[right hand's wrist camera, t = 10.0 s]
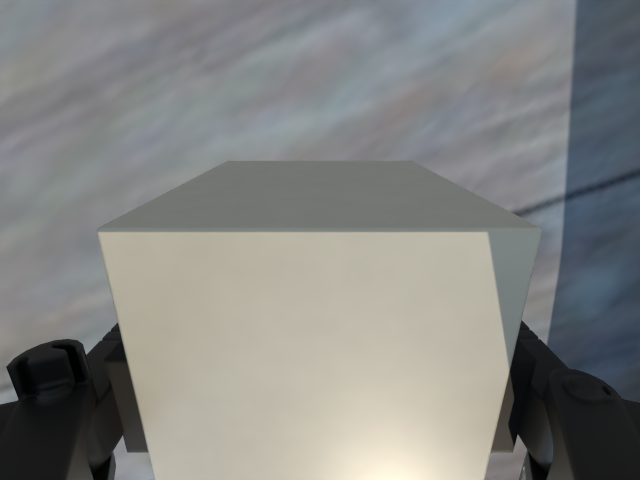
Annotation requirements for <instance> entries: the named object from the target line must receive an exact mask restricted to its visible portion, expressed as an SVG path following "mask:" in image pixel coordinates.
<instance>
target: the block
mask: <svg viewBox="0 0 640 480" xmlns="http://www.w3.org/2000/svg"><path fill="white" fill-rule="evenodd" d="M541 234H542V229H541V228H540V227H538V226H536V225H534V224H532V223H530V222H528V221H526V220H524V219H522V218H520V217H519V216H517V215H515V214H513V213H511V212H509V211H507V210H505V209H503V208H501V207H499V206H497V205H495V204H493V203H492V202H490V201H488V200H486V199H484V198H482V197H480V196H478V195H476V194H474V193H472V192H470V191H468V190H467V189H465V188H463V187H461V186H459V185H457V184H455V183H453V182H451V181H449V180H447V179H445V178H443V177H442V176H440V175H438V174H436V173H434V172H432V171H430V170H428V169H426V168H424V167H422V166H420V165H418V164H416V163H415V162H413V161H227V162H225V163H223V164H221V165H219V166H217V167H215V168H213V169H211V170H209V171H208V172H206V173H204V174H202V175H200V176H198V177H196V178H194V179H192V180H190V181H188V182H186V183H184V184H182V185H180V186H179V187H177V188H175V189H173V190H171V191H169V192H167V193H165V194H163V195H161V196H159V197H157V198H155V199H153V200H151V201H150V202H148V203H146V204H144V205H142V206H140V207H138V208H136V209H134V210H132V211H130V212H128V213H126V214H124V215H122V216H120V217H119V218H117V219H115V220H113V221H111V222H109V223H107V224H105V225H103V226H101V227H99V228H98V229H97V235H98V239H99V243H100V247H101V252H102V256H103V260H104V264H105V269H106V273H107V277H108V281H109V286H110V290H111V294H112V299H113V303H114V307H115V311H116V316H117V320H118V324H119V328H120V333H121V337H122V341H123V345H124V350H125V354H126V358H127V363H128V367H129V371H130V375H131V380H132V384H133V388H134V392H135V397H136V401H137V405H138V410H139V414H140V418H141V422H142V427H143V431H144V435H145V439H146V444H147V448H148V452H149V456H150V461H151V465H152V469H153V474H154V478H155V480H484V479H485V474H486V470H487V466H488V461H489V457H490V453H491V449H492V444H493V440H494V436H495V431H496V427H497V423H498V419H499V414H500V410H501V406H502V401H503V397H504V393H505V388H506V384H507V380H508V376H509V371H510V367H511V363H512V358H513V354H514V350H515V346H516V341H517V337H518V333H519V328H520V324H521V320H522V316H523V311H524V307H525V303H526V298H527V294H528V290H529V286H530V281H531V277H532V273H533V268H534V264H535V260H536V256H537V251H538V247H539V243H540V238H541Z"/></svg>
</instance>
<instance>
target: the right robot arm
mask: <svg viewBox="0 0 640 480" xmlns="http://www.w3.org/2000/svg"><path fill="white" fill-rule="evenodd" d="M7 370H8V373H9V375H10V378H11V380H12V383H13V386H14V388H15V391H16V394H17V396H18V401H15V402H10V403H6V404H1V405H0V480H114V476H115V469H116V463H115V456H114V453H113V450H114V449H115V447H116V445H117V444H118V442H119V440H120V439H121V437H122V435H123V437H124V441H125V445H126V449H127V452H148V448H147V444H146V439H145V435H144V431H143V427H142V422H141V418H140V414H139V410H138V405H137V401H136V397H135V392H134V388H133V384H132V380H131V375H130V371H129V367H128V363H127V358H126V354H125V350H124V345H123V341H122V337H121V333H120V328H119V324H118V323H117V324H116V325H115V326H114V327H113V328H112V329H111V332H108V333H107V334H106V335H105V336H104V337H103V340H102V341H100V342H99V343H98V344H97V345H96V346H95V347H94V348H93V349H92V350H91V351H90V352H89V353H88V354H87V355H86V354H85V350H84V347H83V344H82V343H80V342H79V341H78V340H71V339H63V340H55V341H51V342H48V343H44V344H40V345H38V346H36V347H34V348H31V349H29V350H27V351H25V352H24V353H22V354H21V355H19V356H17V357H16V358H14V359H13V360H12V361H11V363H10V364H9V365H8V366H7ZM517 435H519V436H520V438H521V440H522V441H523V443H524V445H525V446H526V448H527V453H526V456H525V460H524V463H523V467H522V471H521V474H520V478H519V480H640V403H637V402H633V401H628V400H624V399H621V397H620V396H619V395H618V394H617V392H616V391H615V390H614V389H613V388H612V387H610V386H609V385H608V384H606V383H605V382H604V381H602V380H600V379H598V378H596V377H594V376H592V375H590V374H587V373H584V372H581V371H578V370H574V369H569V368H568V367H567V366H566V365H565V364H564V363H563V362H562V361H561V360H560V359H559V358H558V357H557V356H556V355H555V354H554V353H553V352H552V351H551V350H550V349H549V348H548V347H547V346H546V345H545V344H544V343H543V342H542V341H541V340H539V339H538V337H537V336H536V335H535V334H534V332H533V331H532V330H529V327H528V326H527V325H526V324H525V323H524V322H523V321H522V320H521V324H520V328H519V333H518V337H517V341H516V346H515V350H514V354H513V358H512V363H511V367H510V371H509V376H508V380H507V384H506V388H505V393H504V397H503V401H502V406H501V410H500V414H499V419H498V423H497V427H496V431H495V436H494V440H493V444H492V449H491V452H513V450H514V446H515V442H516V438H517Z"/></svg>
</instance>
